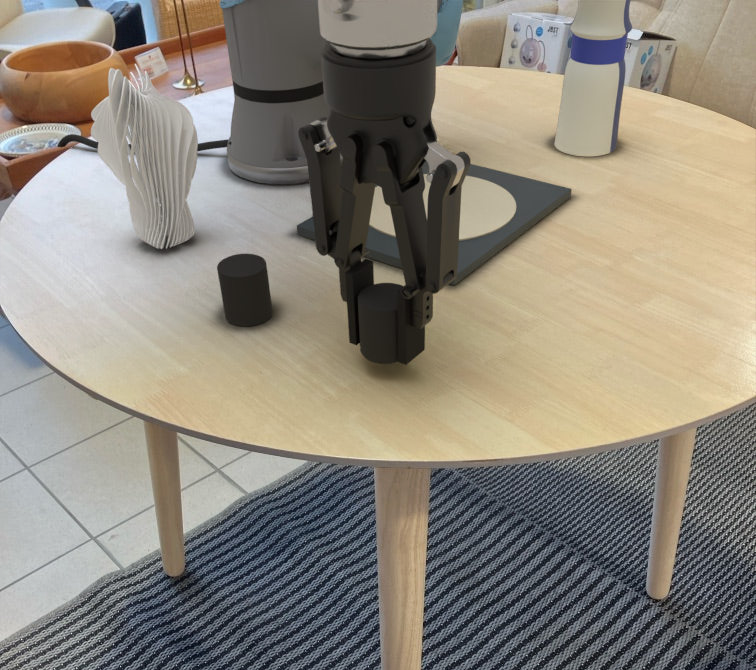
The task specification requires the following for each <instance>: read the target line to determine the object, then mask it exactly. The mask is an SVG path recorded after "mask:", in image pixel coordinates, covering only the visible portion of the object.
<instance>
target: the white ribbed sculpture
mask: <svg viewBox="0 0 756 670" xmlns="http://www.w3.org/2000/svg"><path fill="white" fill-rule="evenodd" d="M134 67H135V69H136V71H137V73H138V77H139V79H140V83H141V86H140V84H139V82H138V81H137V78H136V76H135V75H134V73H133V71H130V72H129V74H130V76H131V78H132V79H133V80H134V82H135V83H136V86H137V88H136V86H135V85H134V84H133V83H132V82H131V80H130V79H128V76H126V75H125V76H124V74H123V72H122V70H121V69H119V68H117V69H115V68H113V67H110V68H109V71H108V75H107V85H108V86H107V87H108V96H106V97H105V98H103V99H102V101H100V102H98V104H97V105H95V106H94V108H93V109H92V110H91V113H90V116H91V119H92V121H93V123H92V126H91V128H90V136H91V137H92V139H93V140H94V141H96V142H99V143H98V149H97V154H98V156H99V158H100V159H101V161H102V162H103V163H104V164H105V165H106V166H107V167H108V169H109V170H110V171H111V173H112V174H113V175H114V176H115V178H116V180H118V181H119V182H120V183H121V184H123V185H124V187H125V191H126V197H127V200H128V201H127V202H128V203H129V205H128V207H129V214H130V219H131V223H132V227H133V230H134V232H135V234H136V235H137V236H138V238H139V239H140V240H142V241H143V242H144V243H146V244H148V245H150V246H151V247H153V248H156V249H160V250H163V249H164V248H165V249H166V250H167V249H168V248H172V247H175V246H178V245H181V244H182V243H185V242H187V241H189V240H190V239H192V238H193V237H194V235H195V230H196V228H195V222H194V218H193V216H192V212H191V210H190V207H189V204H188V201H187V199H188V196H189V194H190V190H191V187H192V182H193V179H194V176H195V173H196V169H197V164H198V152H197V147H198V144H199V138H198V137H199V136H198V132H197V127H196V126H195V123H194V119H193V118H194V117H193V115H192V113H191V112H190V110H189V109H188V107H186V105H184V104H183V103H182V102H180V101H179V100H177V99H174V98H172V97H169V96H168V95H164V94H163V93H160V92H159V91H158V89H157V88H156V87H154V85H153V82H152V80H151V77H150V76H149V74H148V71H147V70H144V75H145V77H144V76H143V73H142V72H141V69H140V68H139V67H138V65H137V63H134ZM129 144H131V150H130V147H129ZM135 159H136V160H135Z"/></svg>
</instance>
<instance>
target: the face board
mask: <svg viewBox="0 0 756 670" xmlns="http://www.w3.org/2000/svg"><path fill="white" fill-rule="evenodd" d="M422 169H423V175H424V181H425V189H424V192H423V200H424V206H425V211H426V217H427V208H428V193H429V188H430V185H431V183H429V182H428V181H427V178H426V177H427V175H428V174H429V165H428V163H427V161H426V162H425V163H424V165H423V166H422ZM572 191H573V189H572V188H570V187H566V186H562V185H559V184H554V183H550V182H546V181H542V180H538V179H534V178H529V177H525V176H523V175H522V176H521V175H517V174H513V173H511V172H505V171H501V170H497V169H493V168H491V167H486V166H481V165H478V164H473V163H470V167H469V169H468V172H467V174H466V177H465V179H464V182H463V184H462V190H461V209H460V227H459V246H458V264H457V277H456V278H455V279H454V280H453V281H452V282H451V283H449V284H448V285H451V286H456V285H457V284H459V283H460V282H461V281H462V280H464V279H465V278H466V277H467V276H469V275H470V274H471V273H473V272H475V271H476V270H477V269H479V268H480V267H481V266H482V265H483V264H485V263H486V262H487V261H489V260H490V259H491V258H493V257H494V256H495V255H496V254H498V253H500V252H501V251H502V250H503V249H505V248H506V247H507V246H509V245H510V244H511V243H512V242H514V241H515V240H517V239H518V238H519V237H520V236H522V235H523V234H525V233H526V232H527V231H529V230H530V229H531V228H532V227H534V226H535V225H536V224H537V223H539V222H541V221H542V220H543V219H544V218H545V217H547V216H548V215H550V214H551V213H552V212H554V211H555V210H556V209H558V208H559V207H560V206H561V205H562V204H564V203H565V202H567V201H568V200H569V199H571V197H572ZM296 234H297V235H298V236H301V237H304V238H308V239H310V240H314V241H315V232H314V222H313V215H312V216H311V217H309V218H307V219H306V220H304V221H302V222H300V223H298V224H296ZM330 234H331V231H330ZM366 247H367V248H368V249H370V252H369V253H367V254H366V255H364V256H363V257H365V258H368V259H370V260H374V261H377V262H381V263H384V264H387V265H390V266H393V267H396V268H399V269H402V265H401V260H400V255H399V250H398V245H397V240H396V235H395V230H394V225H393V220H392V215H391V210H390V206H388V205H386V204H385V202H384V198H383V193H382V188H381V187H379V186H378V185H375V191H374V197H373V204H372V210H371V216H370V222H369V229H368V235H367V241H366ZM368 249H367V250H368ZM367 250H365V251H367Z"/></svg>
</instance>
